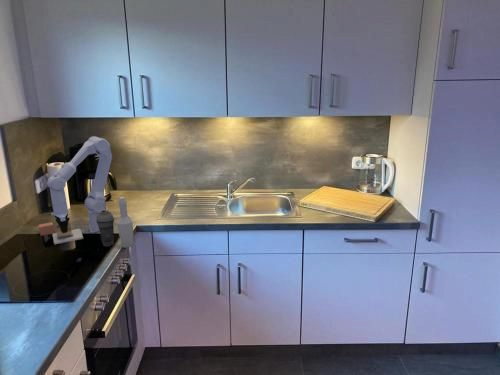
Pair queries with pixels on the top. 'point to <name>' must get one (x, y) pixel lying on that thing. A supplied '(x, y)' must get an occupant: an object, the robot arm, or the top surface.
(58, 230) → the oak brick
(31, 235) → the top surface
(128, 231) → the faceted bottle
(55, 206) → the robot arm
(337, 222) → the top surface
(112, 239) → the beverage cup
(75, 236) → the baseplate
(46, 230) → the rust brick
